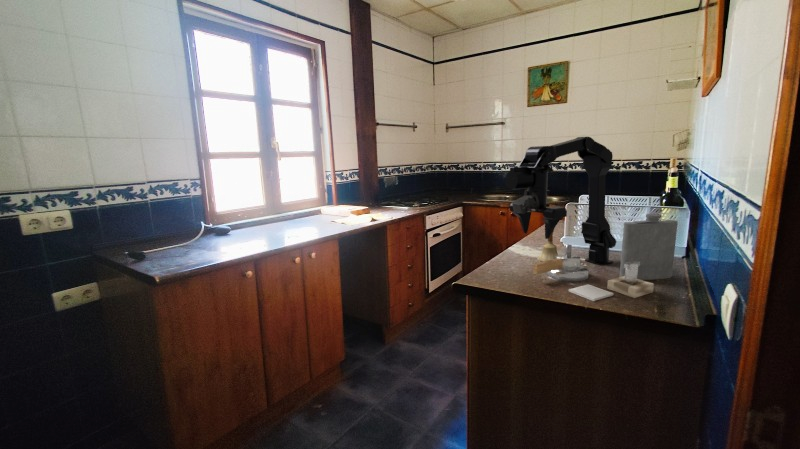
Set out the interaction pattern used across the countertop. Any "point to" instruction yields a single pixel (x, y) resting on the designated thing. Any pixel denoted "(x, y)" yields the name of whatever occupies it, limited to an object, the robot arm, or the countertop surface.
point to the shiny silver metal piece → (631, 272)
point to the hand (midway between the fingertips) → (535, 235)
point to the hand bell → (548, 250)
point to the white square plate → (590, 292)
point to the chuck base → (569, 274)
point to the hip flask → (649, 247)
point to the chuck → (559, 263)
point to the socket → (630, 287)
